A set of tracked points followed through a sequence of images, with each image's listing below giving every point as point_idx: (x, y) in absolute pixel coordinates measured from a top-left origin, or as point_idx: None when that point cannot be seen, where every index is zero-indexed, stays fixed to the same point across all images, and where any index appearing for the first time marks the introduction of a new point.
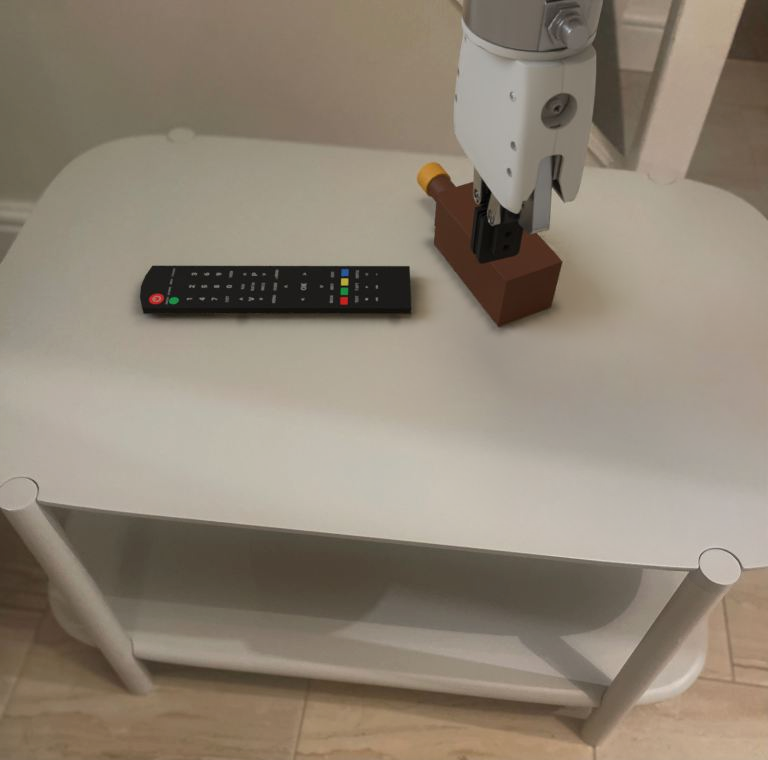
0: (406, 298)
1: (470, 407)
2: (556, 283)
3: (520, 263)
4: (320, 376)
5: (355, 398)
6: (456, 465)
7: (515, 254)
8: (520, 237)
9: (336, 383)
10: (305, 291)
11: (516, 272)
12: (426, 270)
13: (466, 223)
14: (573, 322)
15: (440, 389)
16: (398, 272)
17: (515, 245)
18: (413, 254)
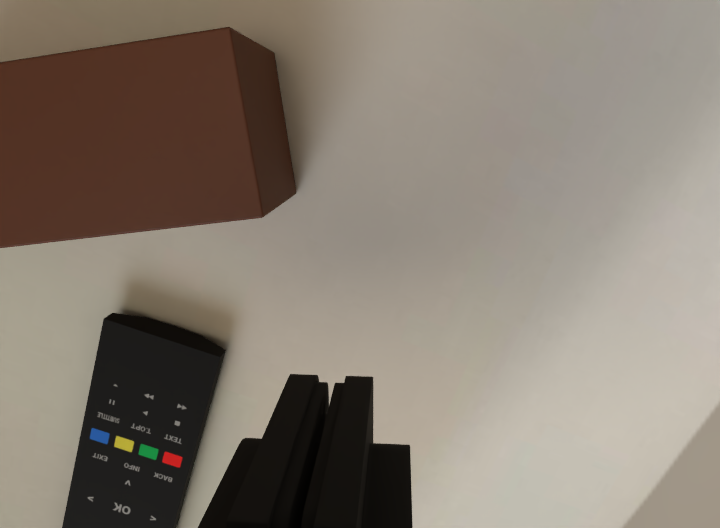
0: (192, 356)
1: (464, 323)
2: (253, 43)
3: (208, 152)
4: None
5: None
6: (567, 391)
7: (372, 385)
8: (367, 425)
9: None
10: (134, 509)
11: (239, 178)
12: (108, 268)
13: (31, 225)
14: (330, 21)
15: (407, 355)
16: (118, 345)
17: (410, 467)
18: (58, 275)
